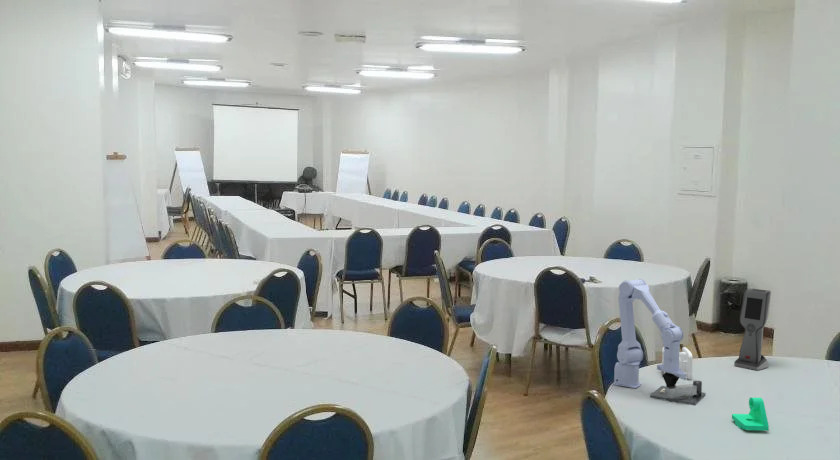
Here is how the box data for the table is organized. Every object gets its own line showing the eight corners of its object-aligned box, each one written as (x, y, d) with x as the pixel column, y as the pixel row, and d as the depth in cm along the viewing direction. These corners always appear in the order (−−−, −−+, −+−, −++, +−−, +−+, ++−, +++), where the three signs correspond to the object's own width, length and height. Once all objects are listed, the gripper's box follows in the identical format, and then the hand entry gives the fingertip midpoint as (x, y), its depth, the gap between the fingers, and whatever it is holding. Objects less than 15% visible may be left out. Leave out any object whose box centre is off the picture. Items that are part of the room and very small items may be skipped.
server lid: (649, 397, 269) (649, 395, 269) (661, 387, 282) (661, 385, 282) (695, 405, 259) (695, 403, 259) (705, 394, 272) (705, 392, 272)
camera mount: (730, 421, 242) (731, 392, 242) (752, 421, 242) (753, 392, 241) (745, 433, 231) (746, 403, 230) (768, 433, 230) (769, 403, 230)
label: (659, 392, 273) (659, 391, 273) (663, 389, 277) (663, 388, 277) (672, 394, 270) (672, 393, 270) (676, 391, 274) (676, 390, 274)
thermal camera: (772, 366, 315) (774, 290, 313) (758, 371, 307) (760, 293, 305) (747, 361, 324) (749, 287, 322) (732, 365, 317) (735, 290, 314)
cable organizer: (692, 381, 291) (693, 354, 290) (666, 380, 293) (667, 353, 292) (685, 372, 306) (685, 346, 305) (660, 371, 308) (661, 345, 307)
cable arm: (697, 393, 271) (697, 380, 271) (703, 395, 268) (703, 382, 268) (664, 397, 266) (665, 384, 266) (670, 399, 263) (670, 386, 263)
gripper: (693, 361, 262) (692, 396, 263) (667, 352, 276) (666, 386, 276) (677, 363, 260) (676, 398, 260) (652, 354, 273) (652, 387, 274)
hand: (670, 392), depth 268 cm, fingers closed
